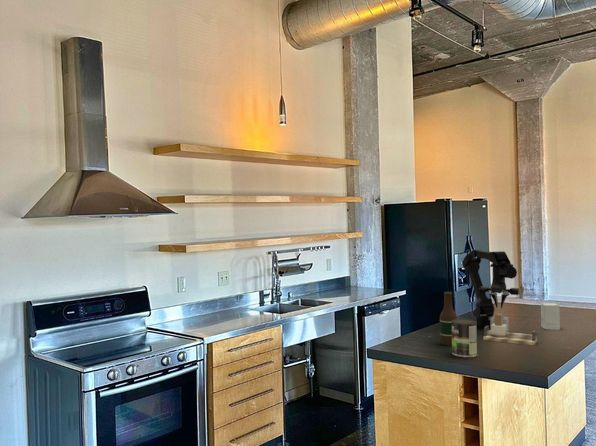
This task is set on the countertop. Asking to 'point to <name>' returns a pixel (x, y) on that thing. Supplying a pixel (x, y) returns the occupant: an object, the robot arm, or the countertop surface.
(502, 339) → the rail base
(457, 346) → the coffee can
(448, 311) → the beer bottle
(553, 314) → the supplement box
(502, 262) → the robot arm
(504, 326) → the carriage
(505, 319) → the box
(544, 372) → the countertop surface
